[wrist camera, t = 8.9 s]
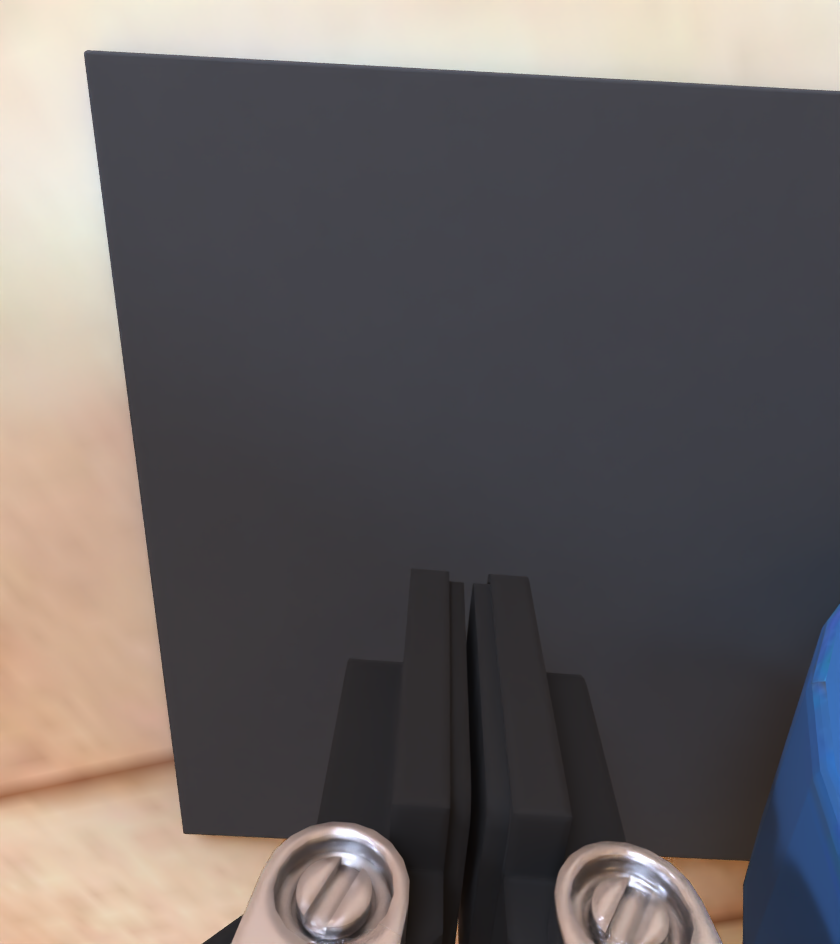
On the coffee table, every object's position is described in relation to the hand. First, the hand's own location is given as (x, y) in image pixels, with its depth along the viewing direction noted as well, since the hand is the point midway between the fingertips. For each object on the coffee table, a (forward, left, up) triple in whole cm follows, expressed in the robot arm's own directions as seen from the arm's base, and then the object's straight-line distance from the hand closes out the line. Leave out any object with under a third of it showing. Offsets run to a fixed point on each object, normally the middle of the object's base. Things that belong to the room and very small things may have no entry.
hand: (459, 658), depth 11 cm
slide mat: (+9, 0, -2) cm, 9 cm away
